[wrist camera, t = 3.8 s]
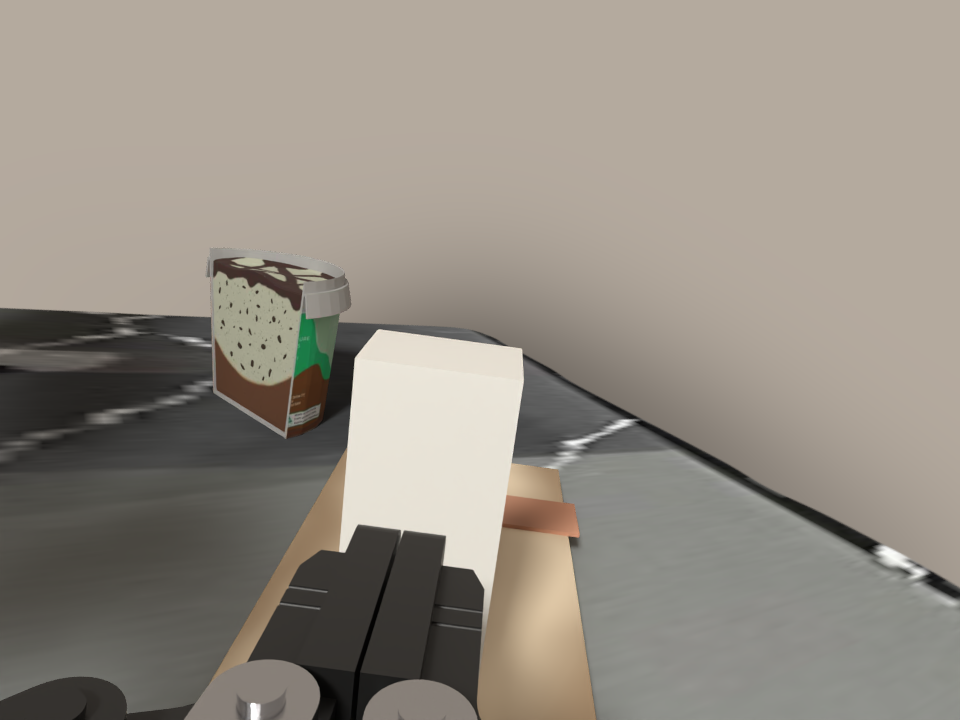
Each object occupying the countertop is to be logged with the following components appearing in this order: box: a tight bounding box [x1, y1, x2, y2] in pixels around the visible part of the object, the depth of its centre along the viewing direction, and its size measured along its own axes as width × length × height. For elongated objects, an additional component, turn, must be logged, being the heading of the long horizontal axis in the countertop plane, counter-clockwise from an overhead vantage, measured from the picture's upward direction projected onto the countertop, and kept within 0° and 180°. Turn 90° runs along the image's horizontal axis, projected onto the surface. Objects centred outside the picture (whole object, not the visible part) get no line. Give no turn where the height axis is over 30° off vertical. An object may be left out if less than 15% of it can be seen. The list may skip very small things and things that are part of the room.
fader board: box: [209, 447, 596, 720], centre depth 28 cm, size 12×26×2 cm, turn 177°
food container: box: [206, 248, 351, 439], centre depth 47 cm, size 12×6×10 cm, turn 46°
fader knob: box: [339, 329, 524, 680], centre depth 19 cm, size 4×3×11 cm
